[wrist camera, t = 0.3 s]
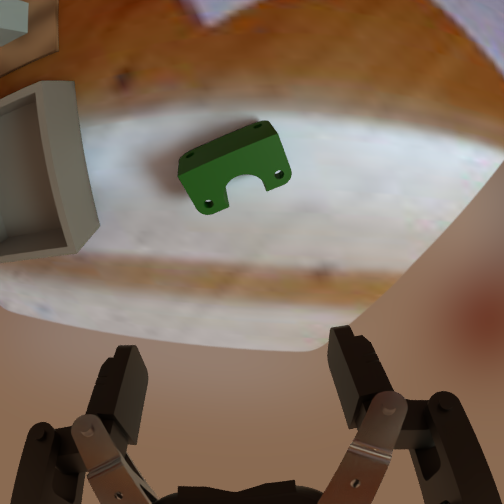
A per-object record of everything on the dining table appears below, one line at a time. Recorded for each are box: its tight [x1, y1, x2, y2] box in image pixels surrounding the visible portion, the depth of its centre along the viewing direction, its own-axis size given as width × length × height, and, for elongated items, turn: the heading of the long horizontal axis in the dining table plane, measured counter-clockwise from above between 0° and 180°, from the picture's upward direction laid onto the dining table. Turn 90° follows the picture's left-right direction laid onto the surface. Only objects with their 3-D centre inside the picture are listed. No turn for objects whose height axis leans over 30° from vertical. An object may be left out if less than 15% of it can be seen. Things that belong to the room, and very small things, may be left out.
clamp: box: [178, 121, 292, 215], centre depth 35 cm, size 12×6×9 cm, turn 106°
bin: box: [0, 81, 100, 263], centre depth 31 cm, size 20×18×8 cm
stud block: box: [0, 0, 59, 78], centre depth 21 cm, size 14×14×6 cm
